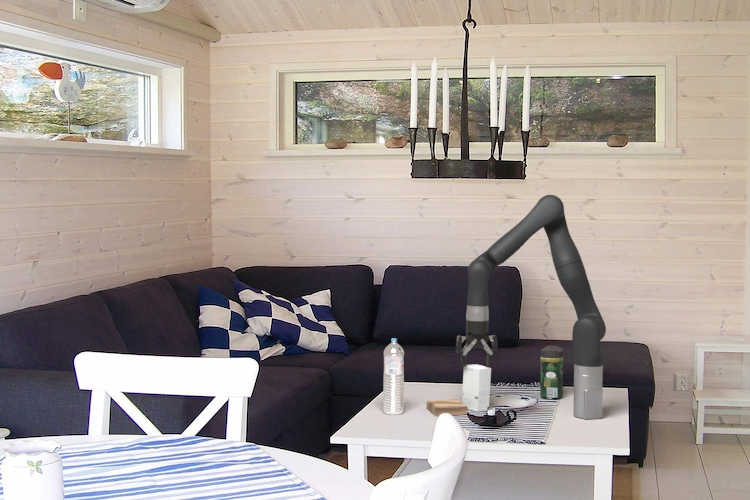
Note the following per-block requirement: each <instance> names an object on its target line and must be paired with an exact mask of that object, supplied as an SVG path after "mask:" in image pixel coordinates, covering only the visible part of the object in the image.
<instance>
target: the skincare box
mask: <svg viewBox="0 0 750 500" xmlns="http://www.w3.org/2000/svg"><path fill="white" fill-rule="evenodd" d="M491 375H492V368H491V367H489V366H484V365H481V364H476V363H474V364H466V367H464V366H463V375H462V376H463V377H462V389H461V390H462V392H461V403H463V404H464V405H466V406H467V407H468V410H470V411H473V412H479V413H480V412H485V411H486V410H487V407H489V408H490V398H491V397H490V395H491V378H492V376H491ZM487 411H488V410H487Z"/></svg>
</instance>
